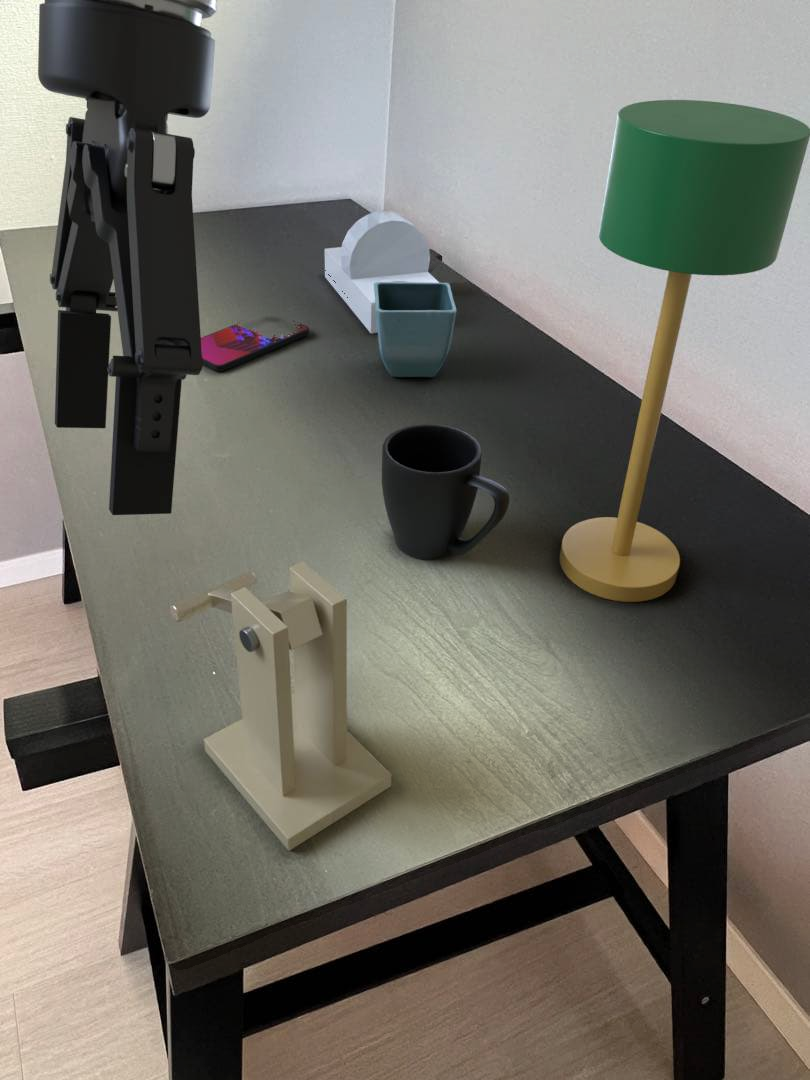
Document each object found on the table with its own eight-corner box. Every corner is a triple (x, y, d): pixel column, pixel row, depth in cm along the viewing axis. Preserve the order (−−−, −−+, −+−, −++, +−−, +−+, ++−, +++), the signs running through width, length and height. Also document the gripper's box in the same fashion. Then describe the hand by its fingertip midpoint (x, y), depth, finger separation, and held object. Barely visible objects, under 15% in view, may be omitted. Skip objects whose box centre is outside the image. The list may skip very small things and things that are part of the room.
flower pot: (372, 352, 114) (373, 280, 109) (444, 353, 115) (449, 281, 110) (374, 385, 107) (376, 310, 102) (451, 386, 108) (457, 311, 102)
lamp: (526, 580, 80) (592, 124, 58) (575, 511, 88) (648, 92, 67) (666, 628, 75) (792, 154, 54) (703, 550, 84) (825, 116, 63)
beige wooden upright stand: (204, 751, 63) (182, 578, 55) (303, 698, 68) (296, 530, 59) (288, 851, 57) (278, 675, 49) (391, 786, 62) (398, 613, 53)
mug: (460, 603, 77) (469, 507, 71) (360, 538, 83) (361, 445, 78) (524, 562, 81) (538, 468, 76) (425, 503, 88) (431, 413, 83)
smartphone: (175, 346, 111) (269, 310, 121) (176, 353, 112) (269, 316, 121) (218, 367, 107) (312, 327, 117) (219, 374, 108) (312, 334, 117)
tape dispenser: (450, 323, 122) (456, 237, 115) (369, 333, 119) (370, 245, 112) (397, 269, 137) (399, 190, 130) (323, 276, 133) (322, 195, 127)
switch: (176, 629, 62) (165, 596, 61) (254, 594, 65) (244, 562, 64) (263, 665, 52) (250, 625, 52) (349, 621, 56) (339, 584, 55)
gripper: (322, 15, 34) (259, 556, 41) (142, 37, 54) (122, 401, 61) (108, -41, 30) (82, 565, 38) (0, 5, 50) (-3, 397, 57)
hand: (107, 465), depth 49 cm, fingers open, 13 cm apart
